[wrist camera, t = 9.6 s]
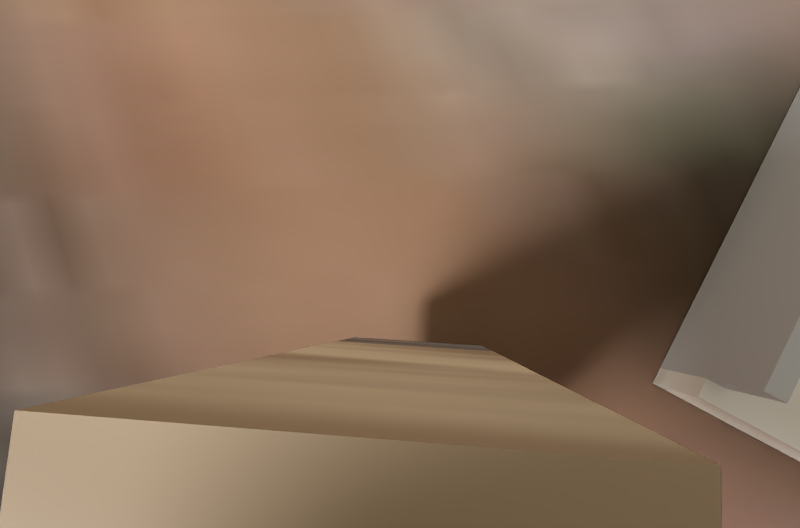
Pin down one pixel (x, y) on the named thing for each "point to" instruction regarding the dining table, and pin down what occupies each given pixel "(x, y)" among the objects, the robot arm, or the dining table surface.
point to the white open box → (750, 311)
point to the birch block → (351, 449)
